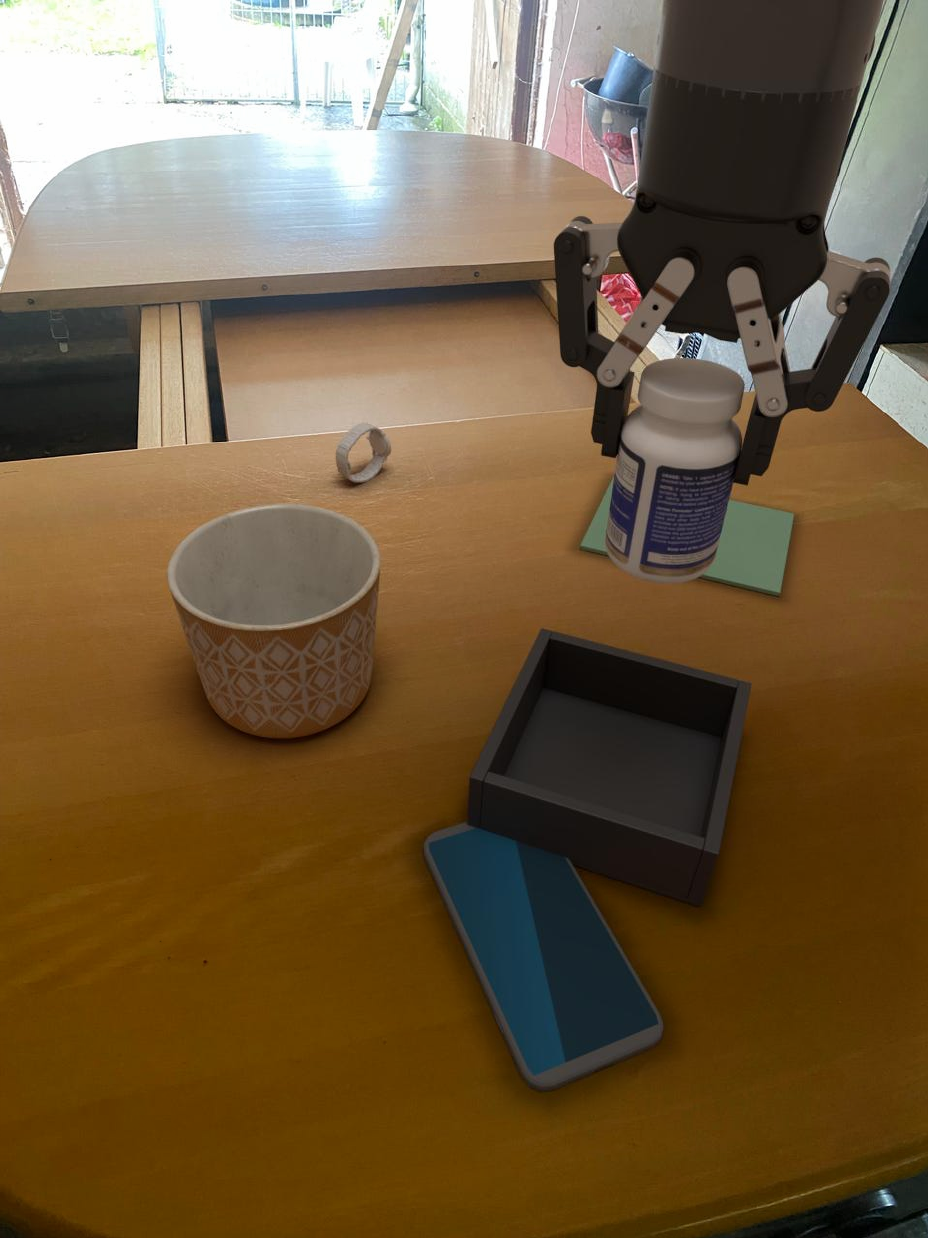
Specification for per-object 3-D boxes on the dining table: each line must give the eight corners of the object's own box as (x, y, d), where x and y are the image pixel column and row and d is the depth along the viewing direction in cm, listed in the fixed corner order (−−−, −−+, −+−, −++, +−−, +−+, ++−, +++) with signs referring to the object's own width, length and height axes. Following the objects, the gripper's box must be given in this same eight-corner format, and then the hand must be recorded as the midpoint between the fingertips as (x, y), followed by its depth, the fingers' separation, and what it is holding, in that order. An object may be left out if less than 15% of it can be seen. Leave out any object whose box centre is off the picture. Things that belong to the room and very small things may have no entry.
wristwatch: (393, 472, 83) (392, 423, 80) (353, 494, 80) (350, 443, 77) (371, 461, 85) (369, 412, 82) (330, 482, 82) (327, 431, 79)
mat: (793, 517, 80) (794, 513, 80) (779, 596, 71) (780, 592, 71) (613, 478, 84) (614, 474, 84) (579, 549, 75) (580, 545, 75)
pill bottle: (729, 547, 49) (776, 371, 42) (686, 602, 45) (730, 419, 39) (631, 512, 51) (661, 340, 45) (583, 561, 47) (608, 382, 41)
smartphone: (535, 809, 55) (537, 799, 55) (670, 1043, 45) (674, 1034, 44) (417, 846, 53) (417, 836, 52) (530, 1103, 42) (531, 1094, 42)
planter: (227, 783, 55) (201, 655, 49) (172, 656, 64) (143, 532, 57) (416, 715, 60) (415, 590, 54) (341, 605, 69) (333, 485, 62)
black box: (734, 735, 60) (752, 682, 57) (700, 907, 50) (718, 854, 47) (535, 680, 63) (541, 627, 60) (466, 830, 53) (469, 776, 50)
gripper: (541, 60, 33) (512, 470, 44) (974, 101, 29) (825, 536, 40) (592, 32, 38) (554, 403, 49) (962, 64, 35) (833, 456, 46)
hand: (676, 461), depth 45 cm, fingers closed on pill bottle, 5 cm apart
